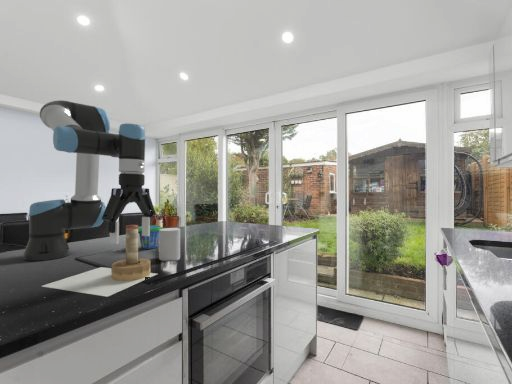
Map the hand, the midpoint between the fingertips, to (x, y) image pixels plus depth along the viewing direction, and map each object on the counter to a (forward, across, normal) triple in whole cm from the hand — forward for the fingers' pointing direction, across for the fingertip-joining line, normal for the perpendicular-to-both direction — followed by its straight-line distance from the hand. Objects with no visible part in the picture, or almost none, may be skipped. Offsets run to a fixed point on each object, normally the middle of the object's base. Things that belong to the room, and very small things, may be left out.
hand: (131, 239), depth 86 cm
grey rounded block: (+12, +23, +1) cm, 26 cm away
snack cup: (+13, +38, +23) cm, 46 cm away
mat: (+12, -6, +4) cm, 14 cm away
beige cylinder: (+11, 0, -1) cm, 11 cm away
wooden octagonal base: (+11, 0, -1) cm, 11 cm away
